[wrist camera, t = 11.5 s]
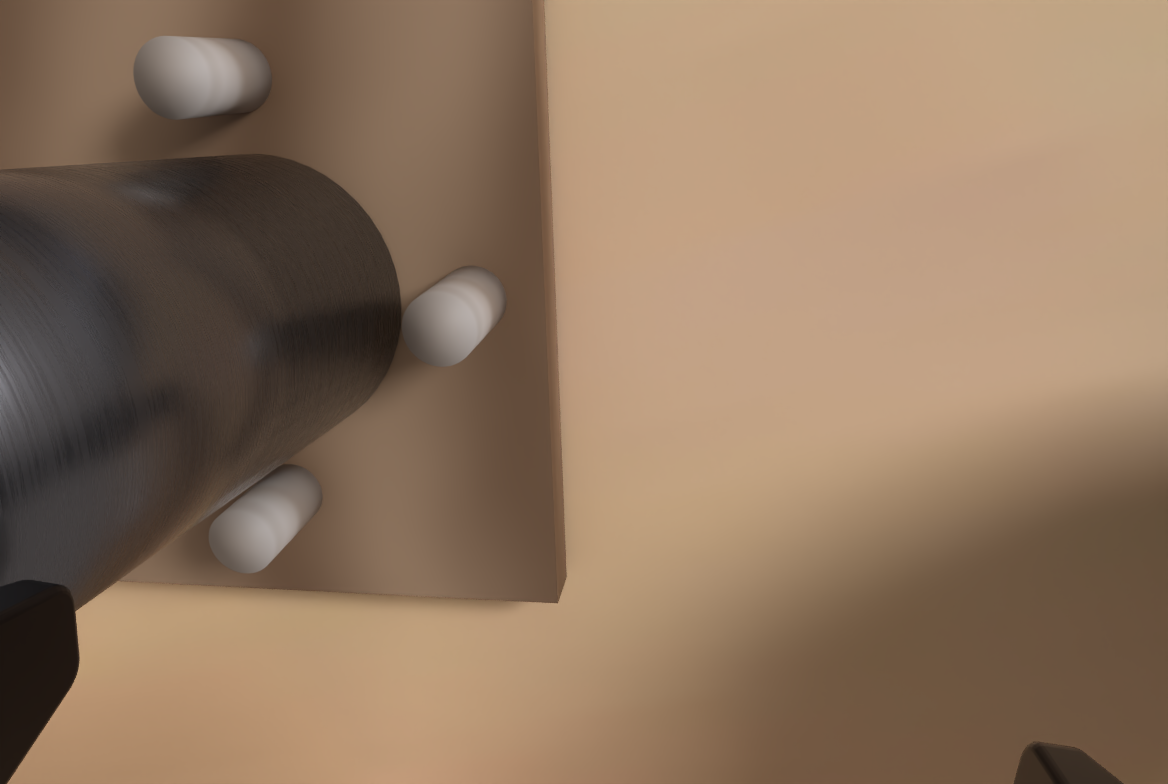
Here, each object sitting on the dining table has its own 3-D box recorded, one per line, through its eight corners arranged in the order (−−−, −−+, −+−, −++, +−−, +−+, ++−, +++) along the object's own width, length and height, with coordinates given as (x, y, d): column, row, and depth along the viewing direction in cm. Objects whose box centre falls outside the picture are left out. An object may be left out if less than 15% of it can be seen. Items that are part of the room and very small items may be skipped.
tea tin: (329, 104, 20) (-405, 75, 7) (448, 386, 21) (-13, 778, 8) (85, 214, 21) (-867, 345, 9) (208, 471, 22) (-482, 908, 10)
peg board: (541, -70, 19) (497, -99, 16) (566, 577, 24) (536, 666, 20) (-18, -41, 21) (-168, -61, 18) (102, 555, 25) (0, 634, 22)
